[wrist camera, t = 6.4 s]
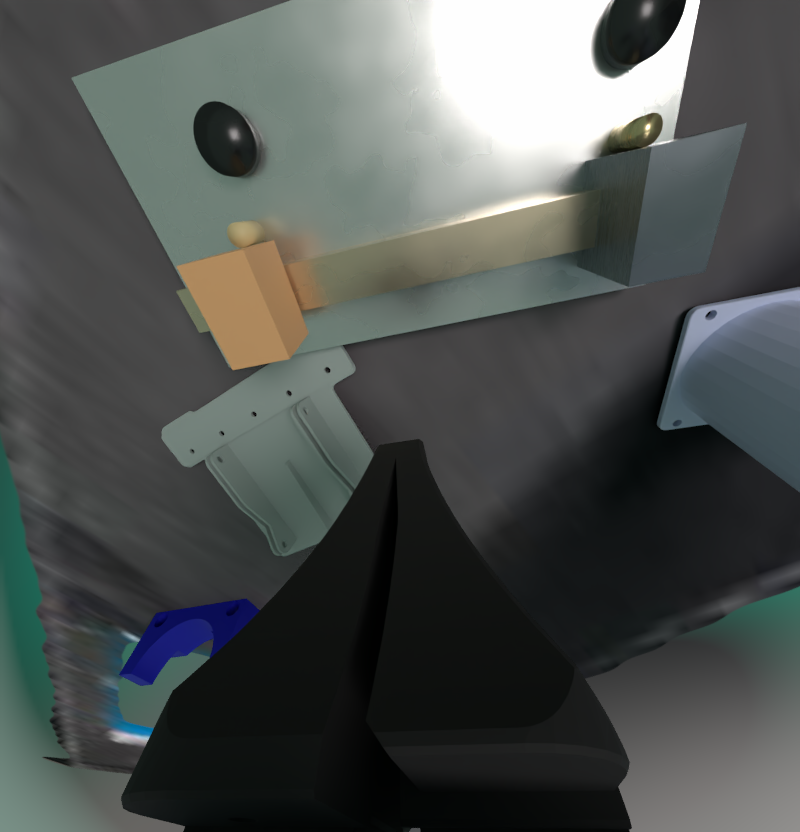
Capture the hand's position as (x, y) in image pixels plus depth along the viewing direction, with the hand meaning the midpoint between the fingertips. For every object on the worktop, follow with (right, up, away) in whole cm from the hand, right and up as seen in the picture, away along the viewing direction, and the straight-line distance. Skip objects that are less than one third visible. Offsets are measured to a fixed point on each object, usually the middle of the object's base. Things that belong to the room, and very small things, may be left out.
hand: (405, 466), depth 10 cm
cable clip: (-22, -21, +28) cm, 41 cm away
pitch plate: (0, +12, +5) cm, 13 cm away
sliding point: (-6, +8, +5) cm, 12 cm away
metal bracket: (-7, 0, +14) cm, 16 cm away
